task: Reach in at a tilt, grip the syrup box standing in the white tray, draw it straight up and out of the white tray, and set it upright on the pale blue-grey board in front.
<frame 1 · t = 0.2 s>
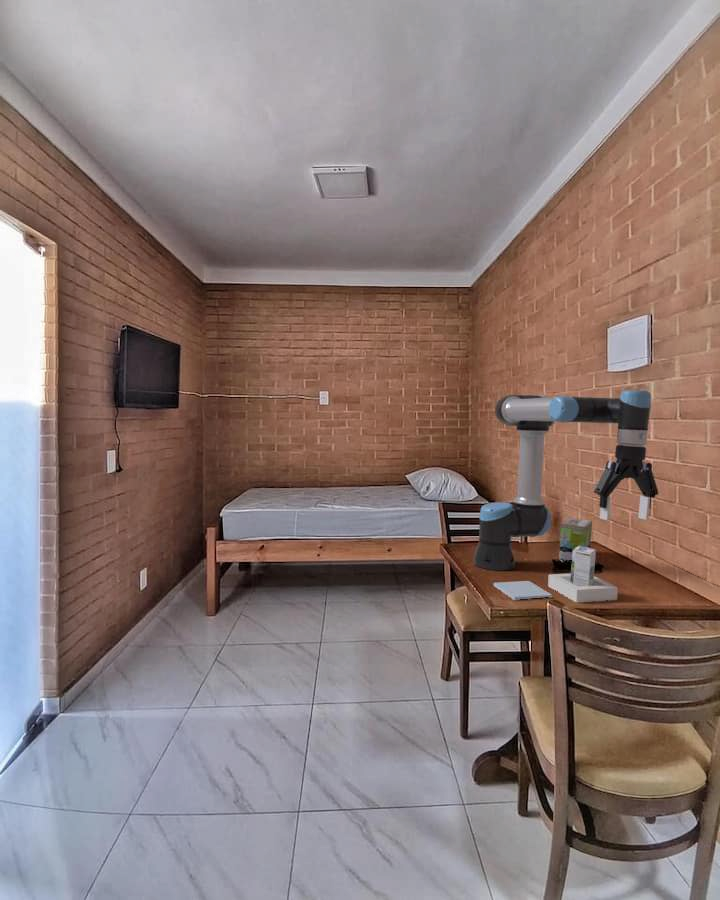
hand: (624, 519, 139), 28 cm above the table, tool pointing down, fingers open, 13 cm apart
board: (521, 591, 156), on the table
tea box: (574, 557, 198), on the table
white tray: (581, 592, 157), on the table
syrup box: (581, 593, 157), resting in white tray
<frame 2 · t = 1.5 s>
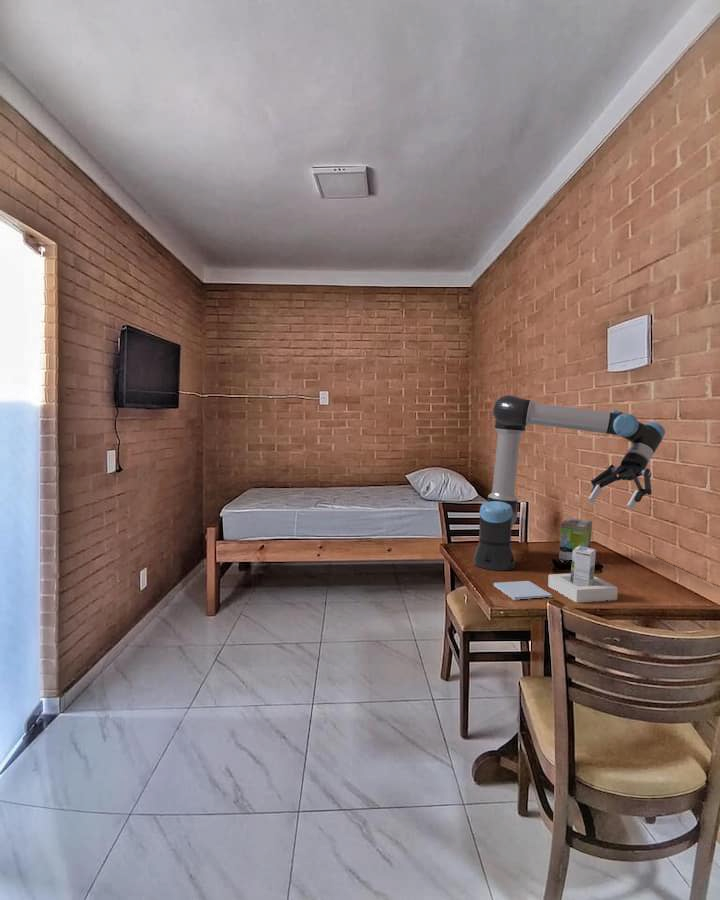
hand: (609, 504, 163), 28 cm above the table, tool tilted 45°, fingers open, 13 cm apart
nothing on the table moved.
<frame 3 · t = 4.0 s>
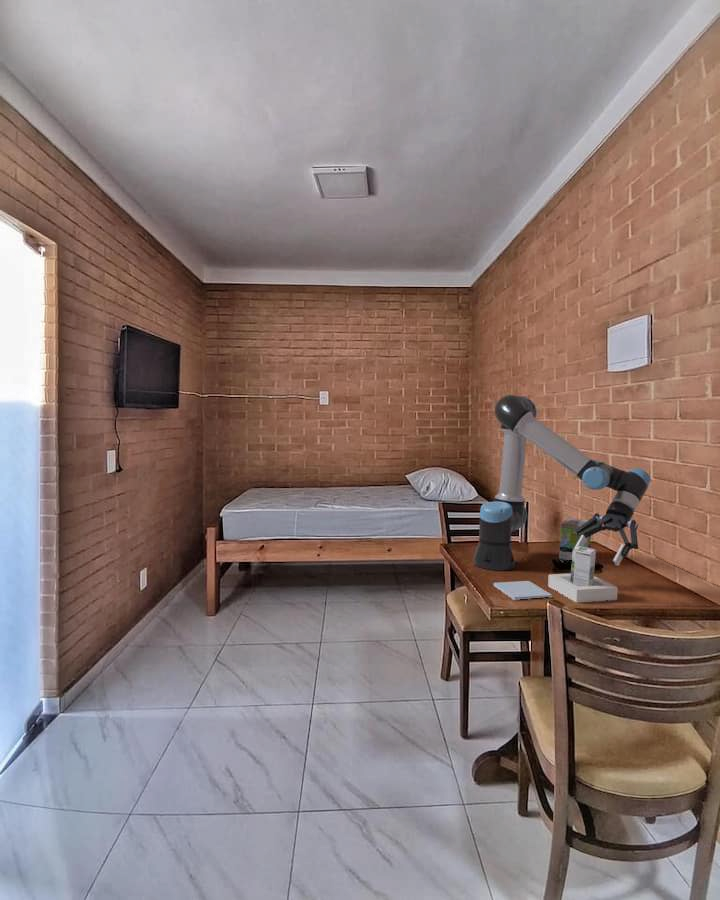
hand: (594, 557, 157), 11 cm above the table, tool tilted 45°, fingers open, 13 cm apart
nothing on the table moved.
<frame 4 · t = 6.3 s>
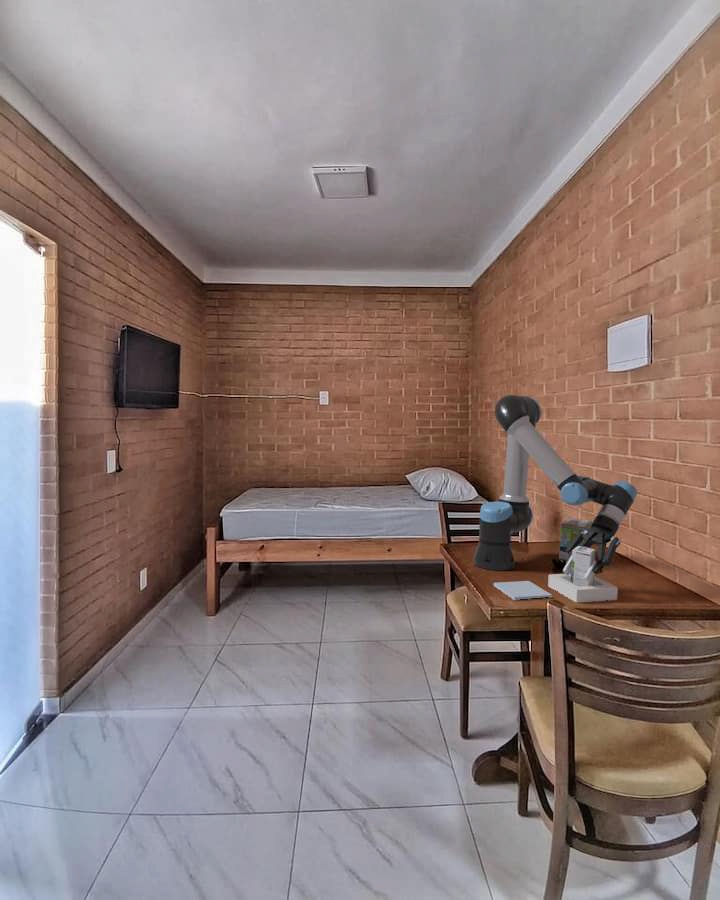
hand: (575, 576, 154), 6 cm above the table, tool tilted 45°, fingers closed on syrup box, 7 cm apart
syrup box: (581, 593, 157), resting in white tray, touching gripper
everything else where it was.
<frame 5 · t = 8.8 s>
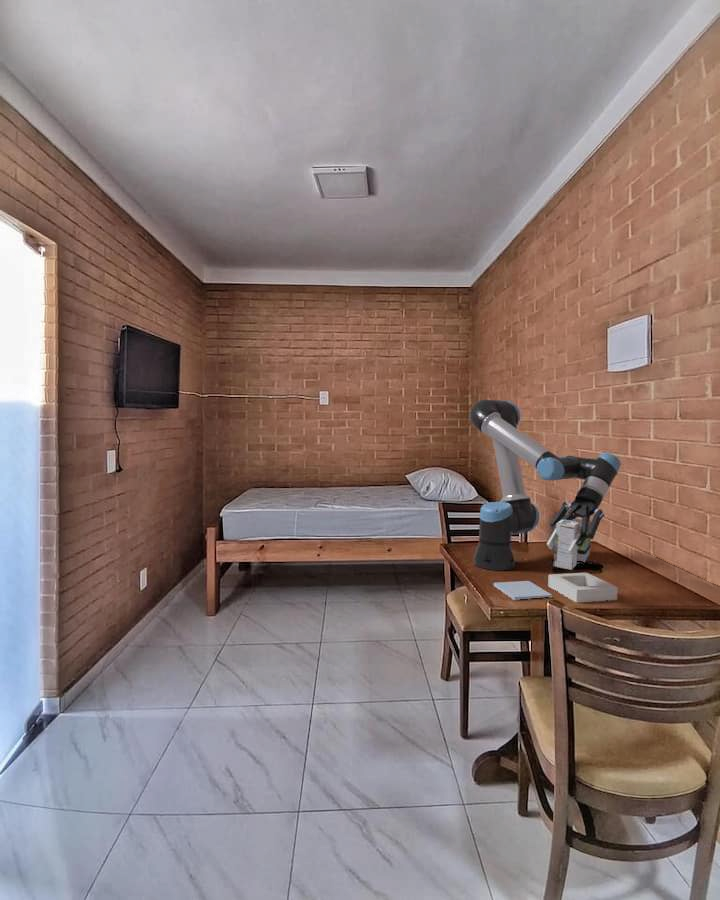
hand: (559, 549, 152), 15 cm above the table, tool tilted 45°, fingers closed on syrup box, 7 cm apart
syrup box: (565, 566, 155), point 9 cm above the table, touching gripper
everything else where it was.
when the fingers open (8 cm above the table, at t = 11.4 s): syrup box drops 1 cm, resting on board.
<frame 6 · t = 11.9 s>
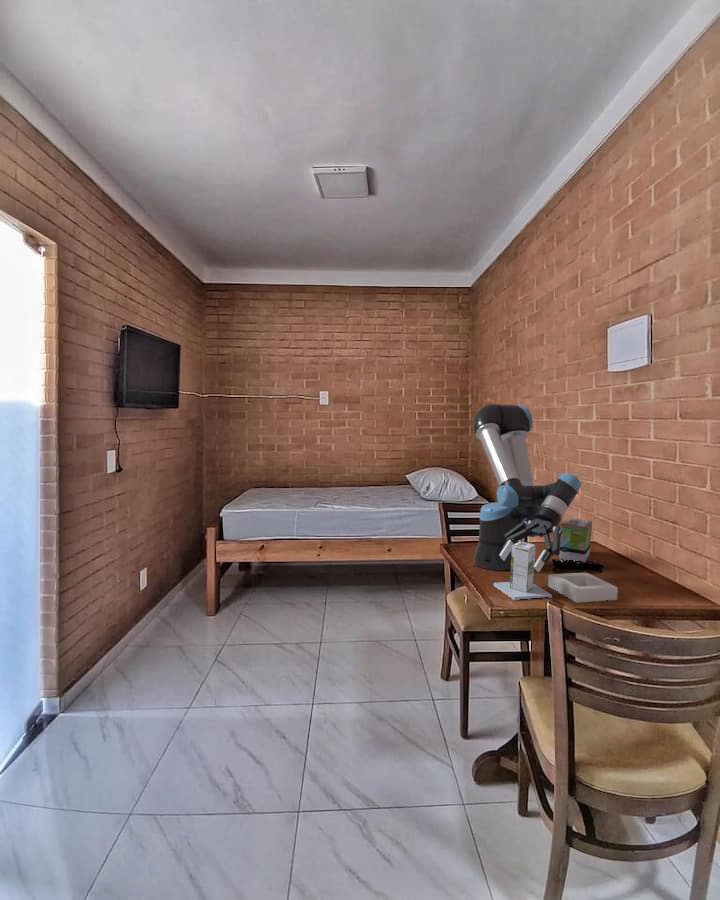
hand: (518, 563, 155), 10 cm above the table, tool tilted 45°, fingers open, 13 cm apart
syrup box: (521, 588, 157), point 1 cm above the table, touching board
everything else where it was.
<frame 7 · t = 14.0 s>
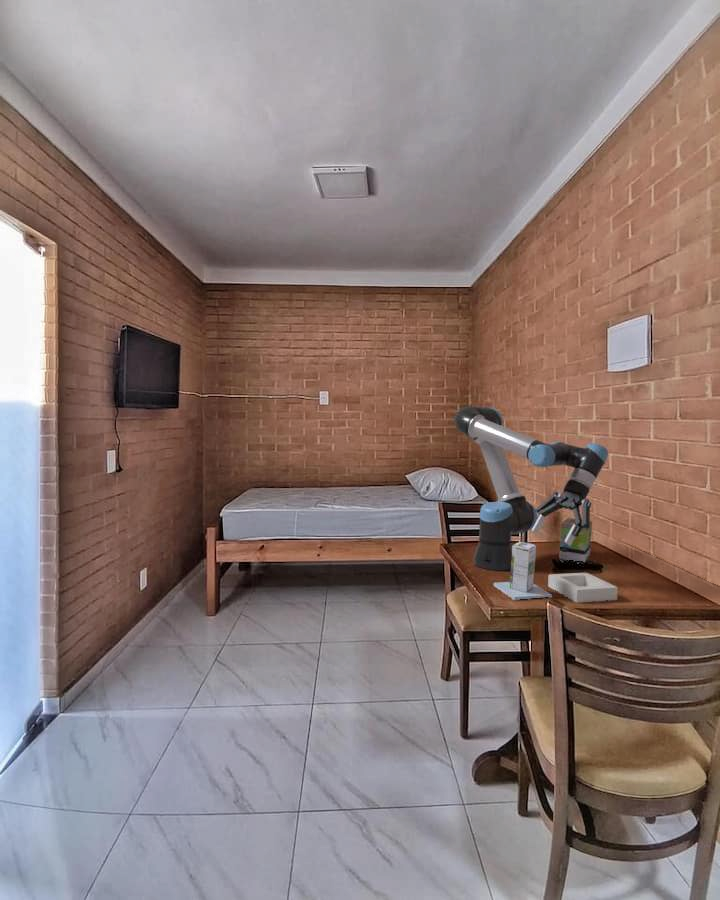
hand: (550, 538, 162), 16 cm above the table, tool tilted 35°, fingers open, 13 cm apart
nothing on the table moved.
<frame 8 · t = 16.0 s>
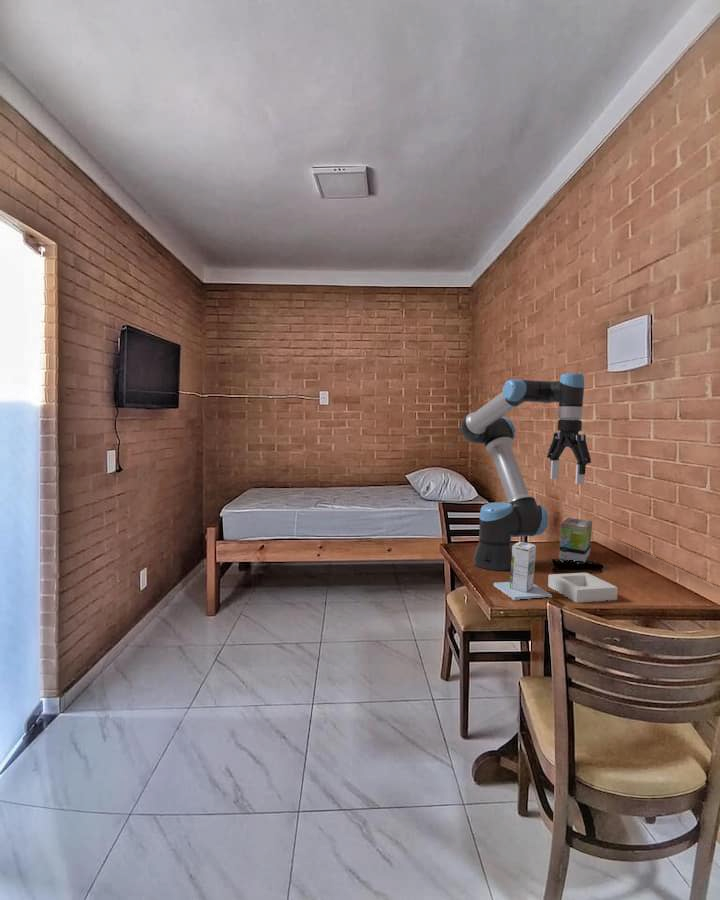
hand: (566, 481, 166), 35 cm above the table, tool pointing down, fingers open, 13 cm apart
nothing on the table moved.
at the end: syrup box inside the target area on the board (0.1 cm from its centre), point 0.8 cm above the board's base; syrup box tilted 0°; the gripper is holding nothing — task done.
